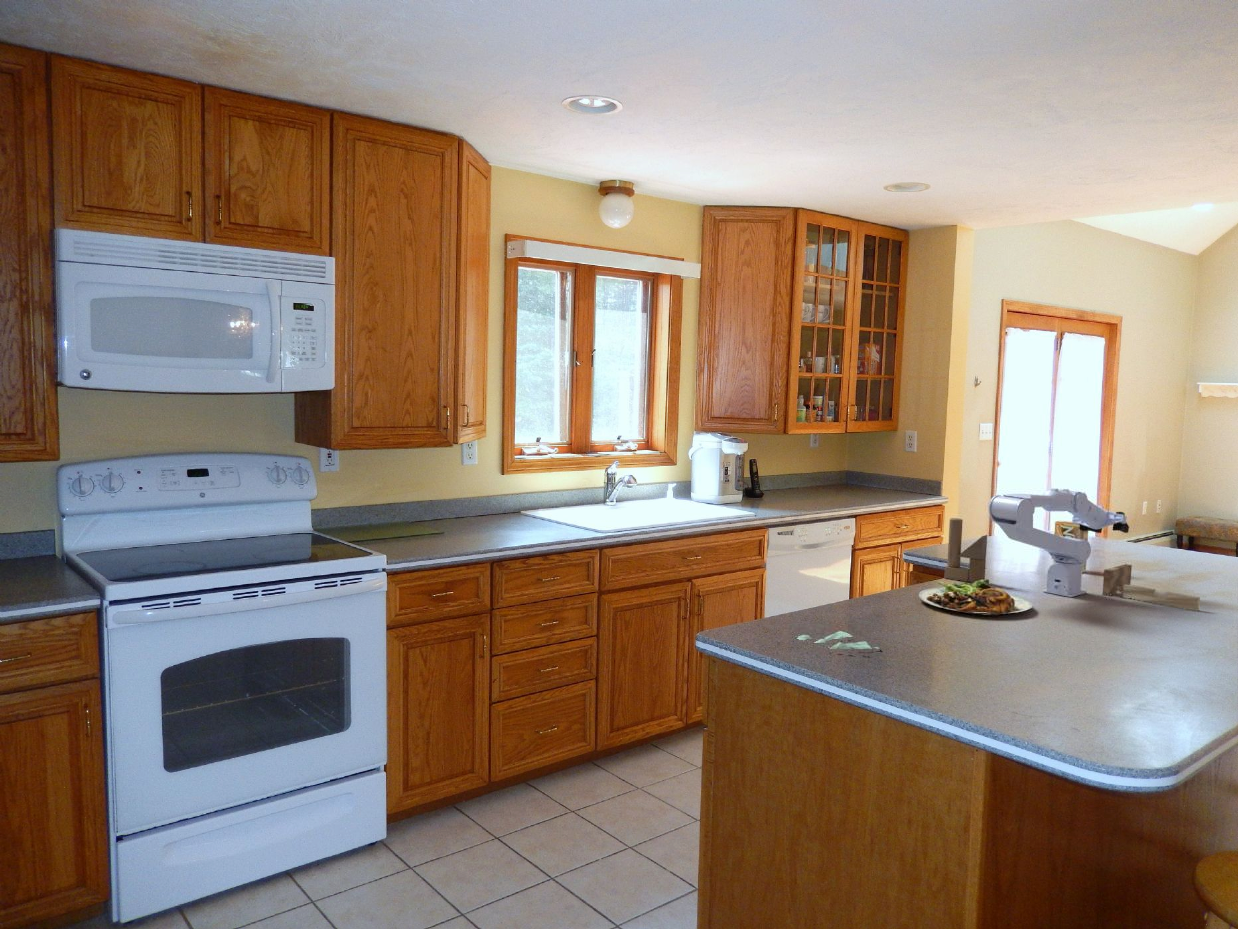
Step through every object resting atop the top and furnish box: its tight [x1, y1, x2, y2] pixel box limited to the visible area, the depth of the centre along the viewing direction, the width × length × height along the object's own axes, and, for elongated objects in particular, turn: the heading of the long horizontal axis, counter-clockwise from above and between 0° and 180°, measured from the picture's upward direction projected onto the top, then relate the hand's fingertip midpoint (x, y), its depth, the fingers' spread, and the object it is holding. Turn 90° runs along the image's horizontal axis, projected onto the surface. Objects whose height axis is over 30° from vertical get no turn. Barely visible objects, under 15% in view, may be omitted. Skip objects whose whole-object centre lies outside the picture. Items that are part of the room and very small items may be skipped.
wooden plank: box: [1102, 564, 1133, 596], centre depth 250 cm, size 14×2×7 cm, turn 128°
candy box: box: [1052, 520, 1089, 574], centre depth 279 cm, size 9×4×15 cm, turn 44°
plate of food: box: [918, 578, 1034, 616], centre depth 232 cm, size 28×28×6 cm
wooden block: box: [944, 517, 988, 584], centre depth 261 cm, size 4×11×18 cm, turn 47°
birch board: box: [1122, 584, 1201, 612], centre depth 237 cm, size 2×18×4 cm, turn 38°
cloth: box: [797, 630, 881, 649], centre depth 194 cm, size 20×22×2 cm
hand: (1113, 529), depth 257 cm, fingers open, 7 cm apart
